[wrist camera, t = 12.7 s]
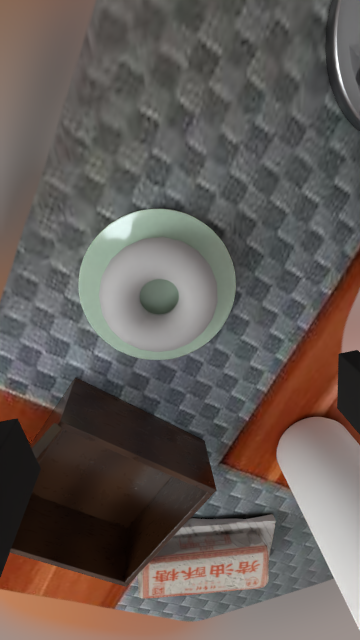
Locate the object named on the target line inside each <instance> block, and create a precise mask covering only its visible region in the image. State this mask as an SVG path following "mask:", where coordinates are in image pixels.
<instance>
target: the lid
mask: <svg viewBox="0 0 360 640" xmlns="http://www.w3.org/2000/svg"><path fill="white" fill-rule="evenodd" d="M61 430H62V428H61V427H60V426H59V425H57V424H56V423H53V425H52V426H51V427H50V428H49V429H48V430H47V431H46V432H45V433H44V435H43V436H42V437H41V438H40V439H39V440H38V441H37V442H36V444H35V445H34V446H33V447H32V448H31V449H32V451H33V453H34V455H35V457H36V459H37V461H38V463H39V462H40V460H41V459H42V457H43V456H44V454H45V453H46V451H47V450H48V449H49V447H50V446H51V444H52V443H53V441H54V440H55V438H56V437H57V436H58V434H59V433H60V431H61Z"/></svg>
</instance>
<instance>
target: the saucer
mask: <svg viewBox="0 0 360 640" xmlns="http://www.w3.org/2000/svg"><path fill="white" fill-rule="evenodd" d="M157 237H166V238H170V239H174V240H179V241H183V242H184V243H186V244H187V245H189V246H191V247H192V248H194V249H196V250H197V251H199V252H200V254H201V255H202V256H203V257H204V259H205V260H206V261H207V262H208V263H209V265H210V266H211V269H212V271H213V274H214V276H215V279H216V282H217V296H218V302H217V306H216V309H215V312H214V316H213V319H212V320H211V322H210V323H209V325H208V326H207V328H206V329H205V330H204V332H203V333H202V334H201V335H199V336H198V337H197V338H196V339H194V340H193V341H192V342H191V343H189V344H187V345H185V346H182V347H180V348H178V349H175V350H170V351H162V352H153V351H147V350H141V349H138V348H136V347H134V346H132V345H130V344H128V343H125V342H124V341H122V340H121V339H120V338H119V337H118V336H117V335H116V334H115V333H114V332H113V331H112V330H111V329H110V327H109V326H108V324H107V322H106V320H105V318H104V317H103V315H102V310H101V305H100V299H99V291H100V284H101V278H102V275H103V273H104V271H105V270H106V268H107V266H108V264H109V262H110V260H111V259H112V258H113V257H114V256H116V255H117V254H118V253H119V252H120V251H121V250H122V249H123V248H124V247H126V246H128V245H130V244H132V243H135V242H137V241H139V240H142V239H146V238H157ZM235 291H236V277H235V270H234V265H233V262H232V259H231V256H230V254H229V252H228V250H227V248H226V246H225V245H224V243H223V242H222V240H221V239H220V238H219V237H218V235H217V234H216V233H215V232H214V231H213V230H212V229H211V228H209V227H208V226H207V225H206V224H204V223H203V222H201V221H200V220H198V219H196V218H195V217H193V216H191V215H188V214H186V213H184V212H180V211H176V210H172V209H164V208H150V209H143V210H138V211H135V212H131V213H129V214H126V215H124V216H122V217H120V218H118V219H117V220H115V221H113V222H112V223H110V224H109V225H108V226H107V227H106V228H104V229H103V230H102V231H101V232H100V233H99V234H98V236H97V237H96V238H95V239H94V240H93V242H92V243H91V245H90V246H89V248H88V250H87V252H86V254H85V256H84V258H83V261H82V264H81V268H80V274H79V296H80V301H81V305H82V309H83V311H84V313H85V316H86V318H87V320H88V321H89V323H90V325H91V326H92V328H93V329H94V330H95V332H96V333H97V334H98V335H99V336H100V337H101V338H102V339H103V340H104V341H105V342H107V343H108V344H109V345H110V346H112V347H113V348H115V349H117V350H119V351H120V352H123V353H125V354H127V355H130V356H133V357H136V358H141V359H146V360H167V359H173V358H177V357H181V356H184V355H186V354H189V353H191V352H193V351H195V350H197V349H199V348H200V347H202V346H203V345H205V344H206V343H207V342H209V341H210V340H211V339H212V338H213V337H214V336H215V335H216V334H217V333H218V331H219V330H220V329H221V328H222V326H223V325H224V323H225V322H226V320H227V318H228V316H229V314H230V312H231V309H232V306H233V303H234V298H235ZM178 300H179V292H178V290H177V288H176V286H175V285H174V284H173V283H172V282H170V281H168V280H164V279H154V280H152V281H150V282H148V283H147V284H145V285H144V286H143V288H142V289H141V292H140V303H141V305H142V306H143V307H144V308H145V309H146V310H147V311H148V312H150V313H153V314H165V313H167V312H170V311H171V310H172V309H173V308H174V307H175V306H176V304H177V303H178Z"/></svg>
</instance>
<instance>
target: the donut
mask: <svg viewBox="0 0 360 640" xmlns="http://www.w3.org/2000/svg"><path fill="white" fill-rule="evenodd" d="M154 279H164V280H168V281H170V282H172V283H173V284H174V285H175V286H176V288H177V290H178V292H179V300H178V303H177V304H176V306H175V307H174V308H173V309H172V310H171V311H170V312H167V313H165V314H153V313H150V312H148V311H147V310H146V309H145V308H144V307H143V306H142V305H141V303H140V292H141V289H142V288H143V286H144V285H145V284H147V283H148V282H150V281H152V280H154ZM99 299H100V305H101V310H102V315H103V317H104V318H105V320H106V322H107V324H108V326H109V327H110V329H111V330H112V331H113V332H114V333H115V334H116V335H117V336H118V337H119V338H120V339H121V340H122V341H124V342H125V343H128V344H130V345H132V346H134V347H136V348H138V349H141V350H147V351H153V352H162V351H170V350H175V349H178V348H180V347H182V346H185V345H187V344H189V343H191V342H192V341H193V340H194V339H196V338H197V337H198V336H199V335H201V334H202V333H203V332H204V330H205V329H206V328H207V326H208V325H209V323H210V322H211V320H212V319H213V316H214V312H215V309H216V306H217V302H218V296H217V282H216V279H215V276H214V274H213V271H212V269H211V266H210V265H209V263H208V262H207V261H206V260H205V259H204V257H203V256H202V255H201V254H200V252H199V251H197V250H196V249H194V248H192V247H191V246H189V245H187V244H186V243H184V242H183V241H179V240H174V239H170V238H166V237H157V238H146V239H142V240H139V241H137V242H135V243H132V244H130V245H128V246H126V247H124V248H123V249H122V250H121V251H120V252H119V253H118V254H117V255H116V256H114V257H113V258H112V259H111V260H110V262H109V264H108V266H107V268H106V270H105V271H104V273H103V275H102V278H101V284H100V291H99Z"/></svg>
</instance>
